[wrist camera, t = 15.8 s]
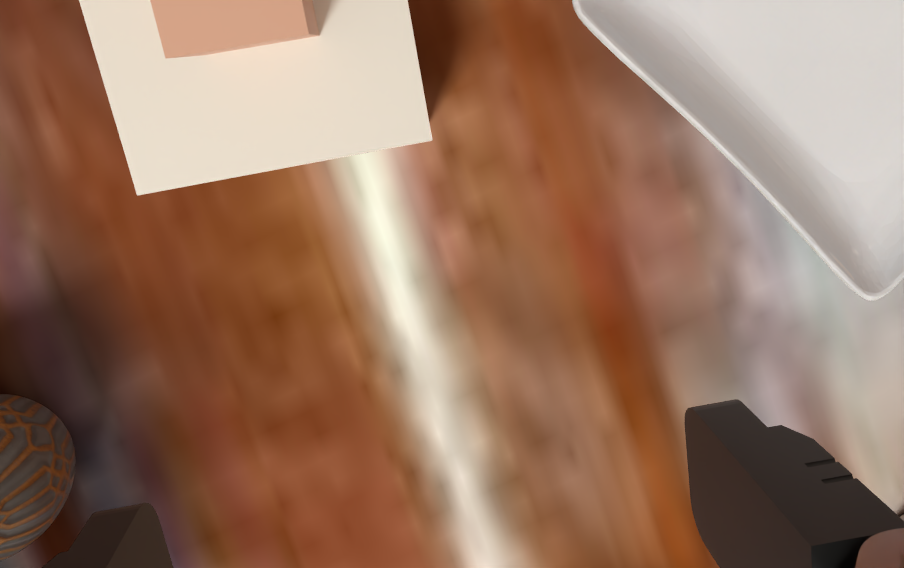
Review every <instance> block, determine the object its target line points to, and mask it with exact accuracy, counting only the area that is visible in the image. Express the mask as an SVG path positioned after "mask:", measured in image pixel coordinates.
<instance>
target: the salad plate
mask: <svg viewBox="0 0 904 568" xmlns="http://www.w3.org/2000/svg"><path fill="white" fill-rule="evenodd" d="M572 3H573V7H574V10H575V12H576V14H577V15H578V17H579V19H580V20H581V21H582V22H583V23H584V24H585V25H586V27H587V28H588V29H589V30H590V31H591V32H592V33H593V34H594V35H595V36H596V37H597V38H598V39H599V40H600V41H601V42H602V43H603V44H604V45H605V46H606V47H607V48H608V49H609V50H610V51H611V52H612V53H613V54H615V55H616V56H617V57H618V58H619V59H620V60H621V61H622V62H623V63H624V64H625V65H627V66H628V67H629V68H630V69H631V70H632V71H633V72H635V73H636V74H637V75H638V76H639V77H640V78H641V79H642V80H643V81H645V82H646V83H647V84H648V85H649V86H650V87H651V88H652V89H653V90H655V91H656V92H657V93H658V94H659V95H660V96H661V97H662V98H663V99H665V100H666V101H667V102H668V103H669V104H670V105H671V106H672V107H674V108H675V109H676V110H677V111H678V112H679V113H680V114H681V115H682V116H683V117H685V118H686V119H687V120H688V121H689V122H690V123H691V124H692V125H693V126H694V127H695V128H696V129H697V130H698V131H699V132H700V133H702V134H703V135H704V136H705V137H706V138H707V139H708V140H709V141H710V142H711V143H712V144H713V145H714V146H715V147H716V148H717V149H718V150H719V151H720V152H721V153H722V154H723V155H724V156H725V157H726V158H727V159H728V160H729V161H730V162H731V163H732V164H734V165H735V166H736V167H737V168H738V169H739V170H740V171H741V172H742V173H743V175H744V176H745V177H746V178H747V179H748V180H749V181H750V182H751V183H752V184H753V185H754V186H755V187H756V188H757V189H758V190H759V191H760V192H761V193H762V194H763V196H764V197H765V198H766V199H767V200H768V201H769V202H770V203H771V204H772V205H773V206H774V207H775V208H776V209H777V210H778V212H779V213H780V214H781V215H782V216H783V217H784V218H785V219H786V220H787V221H788V222H789V223H790V225H791V226H792V227H793V228H794V229H795V230H796V231H797V232H798V233H799V234H800V235H801V237H802V238H803V239H804V240H805V241H806V242H807V243H808V244H809V246H810V247H811V248H812V249H813V250H814V251H815V252H816V253H817V254H818V255H819V257H820V258H821V259H822V260H823V261H824V262H825V263H826V264H827V265H828V266H829V268H830V269H831V270H832V271H833V272H834V273H835V274H836V275H837V276H838V277H839V278H840V279H841V280H842V281H843V282H844V283H845V284H846V285H847V286H848V287H849V288H850V289H851V290H853V291H854V292H855V293H856V294H857V295H859V296H860V297H862V298H863V299H865V300H869V301H874V300H877V299H880V298H882V297H884V296H885V295H887V294H888V293H889V292H890V291H891V290H892V289H893V288H894V287H895V286H896V285H897V284H898V283H899V282H900V281H901V280H902V279H903V278H904V0H572Z"/></svg>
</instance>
